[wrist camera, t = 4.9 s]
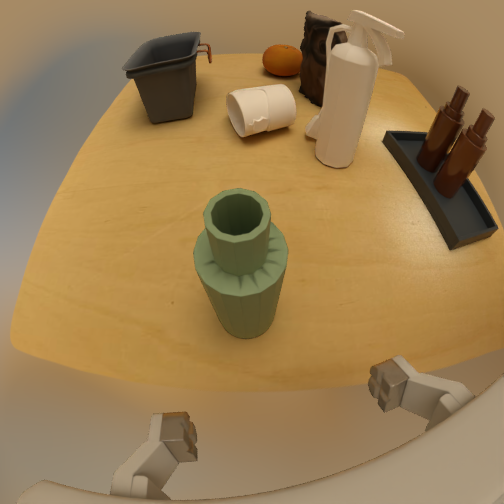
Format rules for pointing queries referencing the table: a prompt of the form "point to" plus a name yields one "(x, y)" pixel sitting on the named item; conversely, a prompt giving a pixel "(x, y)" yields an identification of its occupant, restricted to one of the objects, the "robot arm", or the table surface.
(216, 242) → the green bottle
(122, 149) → the table surface
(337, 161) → the fire extinguisher
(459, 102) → the bottle row
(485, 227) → the tray
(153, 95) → the storage bin
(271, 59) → the fruit
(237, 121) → the mug
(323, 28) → the brown rock chunk
